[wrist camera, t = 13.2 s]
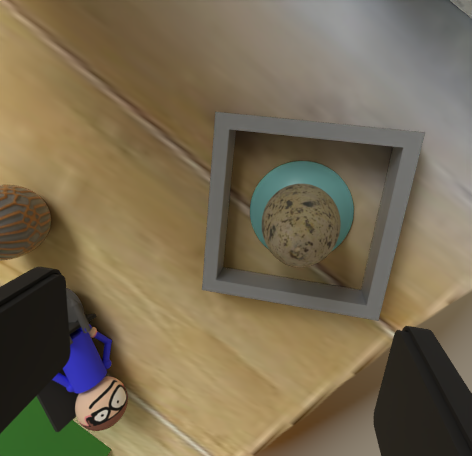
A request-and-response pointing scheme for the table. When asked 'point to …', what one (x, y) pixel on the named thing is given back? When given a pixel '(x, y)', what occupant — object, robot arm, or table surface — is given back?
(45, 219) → the vase
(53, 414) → the character figurine
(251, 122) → the walled pen
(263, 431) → the table surface
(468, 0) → the tea box
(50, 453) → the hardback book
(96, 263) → the table surface
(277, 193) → the decorative egg
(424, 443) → the robot arm
